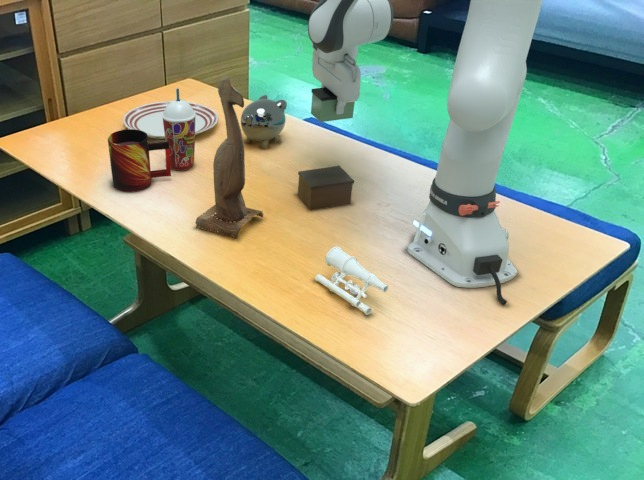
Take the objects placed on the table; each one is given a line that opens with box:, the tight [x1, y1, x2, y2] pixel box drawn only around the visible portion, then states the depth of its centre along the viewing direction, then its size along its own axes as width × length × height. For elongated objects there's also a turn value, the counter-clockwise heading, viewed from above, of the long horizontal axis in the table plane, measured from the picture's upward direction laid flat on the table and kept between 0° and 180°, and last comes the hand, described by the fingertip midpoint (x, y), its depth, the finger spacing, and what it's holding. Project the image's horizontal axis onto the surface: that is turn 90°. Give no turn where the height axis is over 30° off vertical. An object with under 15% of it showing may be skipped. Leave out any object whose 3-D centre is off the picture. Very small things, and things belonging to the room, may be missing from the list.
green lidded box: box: [310, 87, 356, 123], centre depth 164 cm, size 6×9×6 cm
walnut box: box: [297, 165, 355, 211], centre depth 158 cm, size 8×10×6 cm
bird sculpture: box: [195, 77, 264, 239], centre depth 142 cm, size 11×12×32 cm
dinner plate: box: [122, 100, 219, 140], centre depth 195 cm, size 28×27×3 cm
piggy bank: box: [240, 94, 288, 149], centre depth 183 cm, size 11×15×12 cm
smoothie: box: [162, 88, 196, 172], centre depth 170 cm, size 8×8×20 cm
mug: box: [107, 128, 172, 193], centre depth 166 cm, size 10×14×12 cm
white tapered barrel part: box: [314, 245, 389, 316], centre depth 128 cm, size 8×14×5 cm
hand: (332, 107), depth 164 cm, fingers closed on green lidded box, 6 cm apart
